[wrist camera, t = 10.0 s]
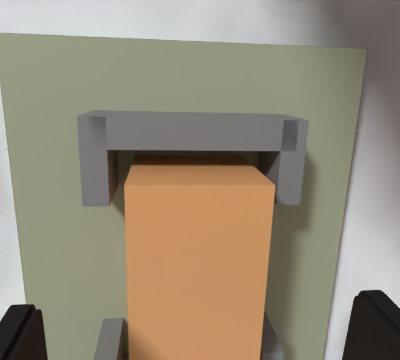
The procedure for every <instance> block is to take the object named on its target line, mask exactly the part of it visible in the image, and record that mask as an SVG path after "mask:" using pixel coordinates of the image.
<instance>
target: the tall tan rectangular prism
mask: <svg viewBox="0 0 400 360" xmlns="http://www.w3.org/2000/svg"><path fill="white" fill-rule="evenodd" d="M274 195H275V185H274V184H273V183H272V182H271V181H270V180H269V179H268V178H267V177H265V176H264V175H263V174H262V173H261V172H260V171H259V170H257V169H256V168H255V167H254V166H253V165H252V164H251V163H249V162H248V161H247V160H246V159H245V158H244V157H243V156H177V155H135V157H134V160H133V162H132V165H131V168H130V171H129V174H128V176H127V179H126V182H125V185H124V197H125V233H126V269H127V305H128V341H129V360H260V351H261V340H262V329H263V318H264V306H265V295H266V284H267V273H268V262H269V251H270V240H271V229H272V217H273V206H274Z"/></svg>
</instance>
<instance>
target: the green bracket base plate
mask: <svg viewBox="0 0 400 360" xmlns="http://www.w3.org/2000/svg"><path fill="white" fill-rule="evenodd" d="M366 56H367V49H366V48H343V47H319V46H296V45H273V44H249V43H226V42H203V41H179V40H156V39H133V38H109V37H86V36H63V35H39V34H16V33H0V86H1V94H2V103H3V111H4V120H5V128H6V137H7V145H8V154H9V162H10V171H11V179H12V188H13V196H14V205H15V213H16V222H17V230H18V239H19V247H20V256H21V264H22V273H23V281H24V290H25V299H26V304H34V305H35V308H36V309H41V311H42V315H43V323H44V331H45V339H46V347H47V355H48V360H129V341H128V305H127V269H126V233H125V197H124V185H125V182H126V179H127V176H128V174H129V171H130V168H131V165H132V162H133V160H134V157H135V155H177V156H243V157H244V158H245V159H246V160H247V161H248V162H249V163H251V164H252V165H253V166H254V167H255V168H256V169H257V170H259V171H260V172H261V173H262V174H263V175H264V176H265V177H267V178H268V179H269V180H270V181H271V182H272V183H273V184H274V185H275V195H274V206H273V217H272V229H271V240H270V251H269V262H268V273H267V284H266V295H265V306H264V318H263V329H262V340H261V351H260V360H323V354H324V347H325V341H326V334H327V327H328V320H329V313H330V306H331V299H332V292H333V285H334V278H335V271H336V264H337V257H338V250H339V243H340V236H341V230H342V223H343V216H344V209H345V202H346V195H347V188H348V181H349V174H350V167H351V160H352V153H353V146H354V139H355V132H356V125H357V118H358V112H359V105H360V98H361V91H362V84H363V77H364V70H365V63H366Z"/></svg>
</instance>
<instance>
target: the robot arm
mask: <svg viewBox="0 0 400 360" xmlns="http://www.w3.org/2000/svg"><path fill="white" fill-rule="evenodd" d="M0 360H48V355H47V347H46V339H45V331H44V323H43V315H42V311H41V309H36V308H35V305H34V304H23V305H11V306H10V307H9V308H8V310H7V312H6V313H5V315H4V316H3V318H2V320H1V321H0ZM342 360H400V308H399V307H398V306H397V305H396V304H395V303H394V302H393V301H392V300H391V299H390V298H389V297H388V296H387V295H386V294H385V293H384V292H382V291H381V290H365V291H360V293H359V295H358V296H355V298H354V301H353V306H352V311H351V316H350V321H349V327H348V332H347V337H346V342H345V347H344V352H343V358H342Z"/></svg>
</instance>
